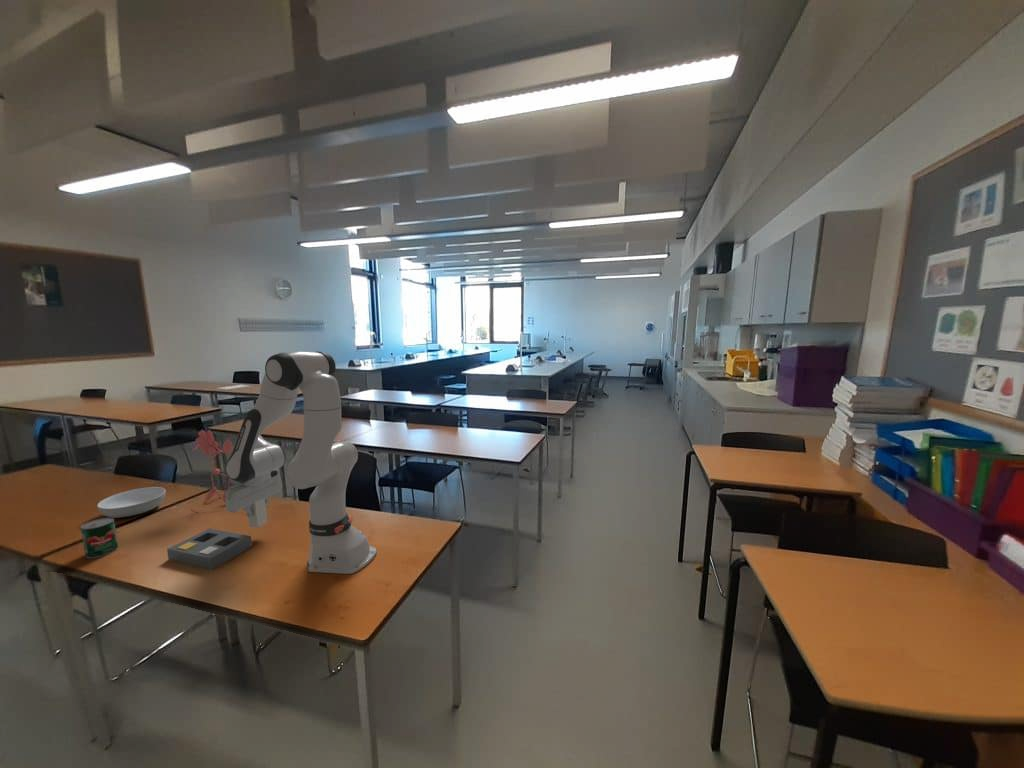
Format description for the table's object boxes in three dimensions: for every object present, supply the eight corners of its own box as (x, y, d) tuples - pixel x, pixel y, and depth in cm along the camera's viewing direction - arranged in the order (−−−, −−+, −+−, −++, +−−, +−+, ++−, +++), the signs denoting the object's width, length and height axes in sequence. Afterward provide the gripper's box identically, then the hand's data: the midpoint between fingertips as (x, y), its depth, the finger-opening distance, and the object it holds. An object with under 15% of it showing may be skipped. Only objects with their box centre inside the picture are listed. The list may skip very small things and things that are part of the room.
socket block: (252, 546, 136) (250, 535, 135) (212, 569, 122) (210, 557, 122) (211, 538, 141) (209, 527, 140) (168, 559, 128) (166, 548, 127)
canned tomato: (106, 544, 137) (102, 516, 135) (124, 546, 135) (120, 518, 134) (78, 557, 129) (73, 527, 127) (97, 559, 128) (92, 529, 126)
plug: (267, 522, 143) (264, 497, 141) (258, 527, 139) (254, 501, 138) (259, 521, 144) (256, 496, 143) (249, 526, 140) (246, 500, 139)
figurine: (210, 493, 180) (201, 423, 174) (250, 501, 172) (241, 428, 166) (174, 508, 165) (162, 432, 160) (215, 517, 157) (204, 437, 152)
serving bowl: (83, 523, 152) (81, 507, 151) (137, 500, 173) (134, 486, 172) (133, 524, 151) (130, 508, 150) (180, 501, 172) (178, 487, 171)
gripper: (232, 489, 128) (237, 527, 130) (283, 468, 148) (286, 501, 150) (218, 487, 130) (223, 525, 132) (270, 467, 149) (274, 500, 151)
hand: (257, 512), depth 141 cm, fingers closed on plug, 4 cm apart
